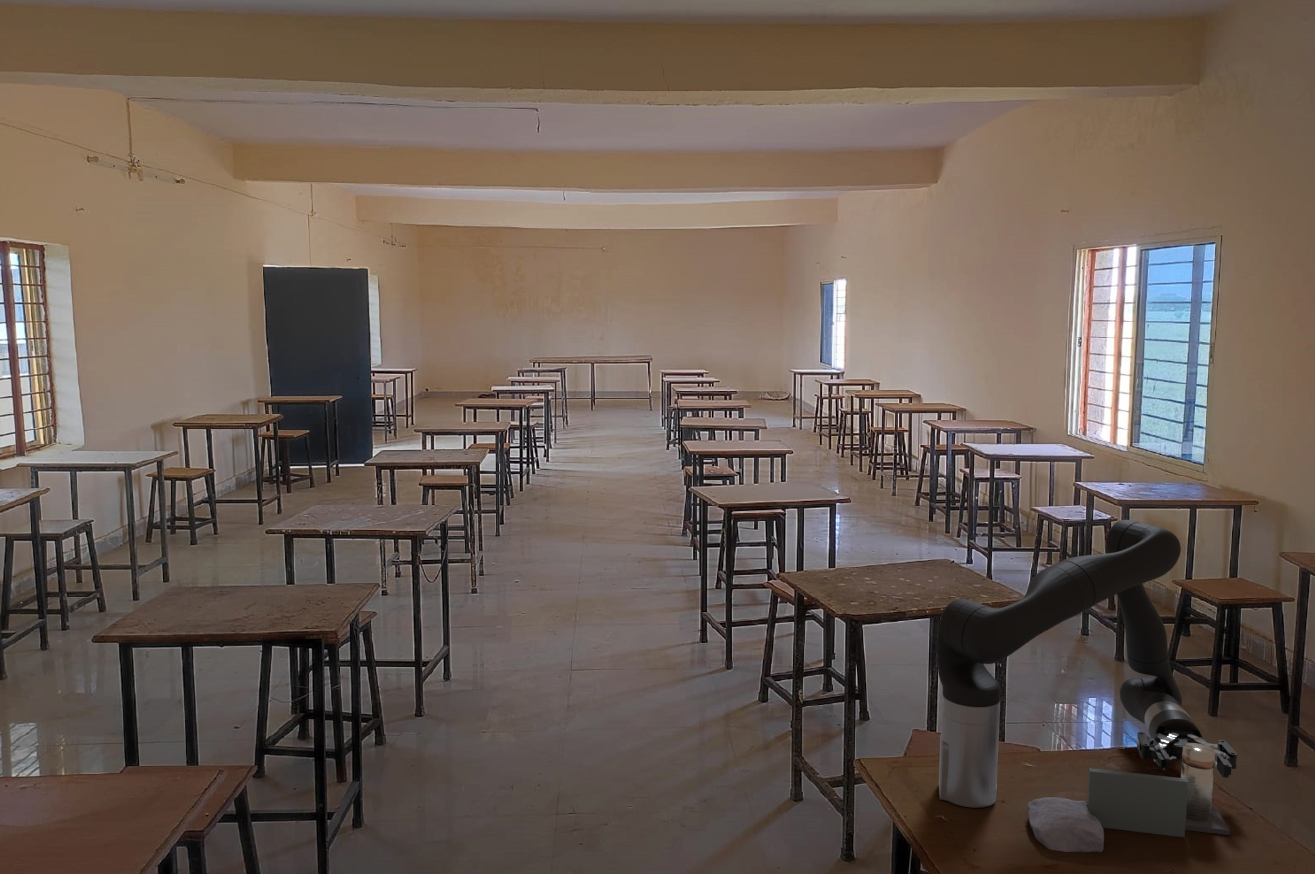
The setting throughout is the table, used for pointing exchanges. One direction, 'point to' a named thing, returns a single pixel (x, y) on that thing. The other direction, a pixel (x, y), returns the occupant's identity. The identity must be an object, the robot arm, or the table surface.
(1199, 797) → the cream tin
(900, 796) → the table surface
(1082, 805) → the stone block
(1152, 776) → the slate screen
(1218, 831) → the dark rubber mat
